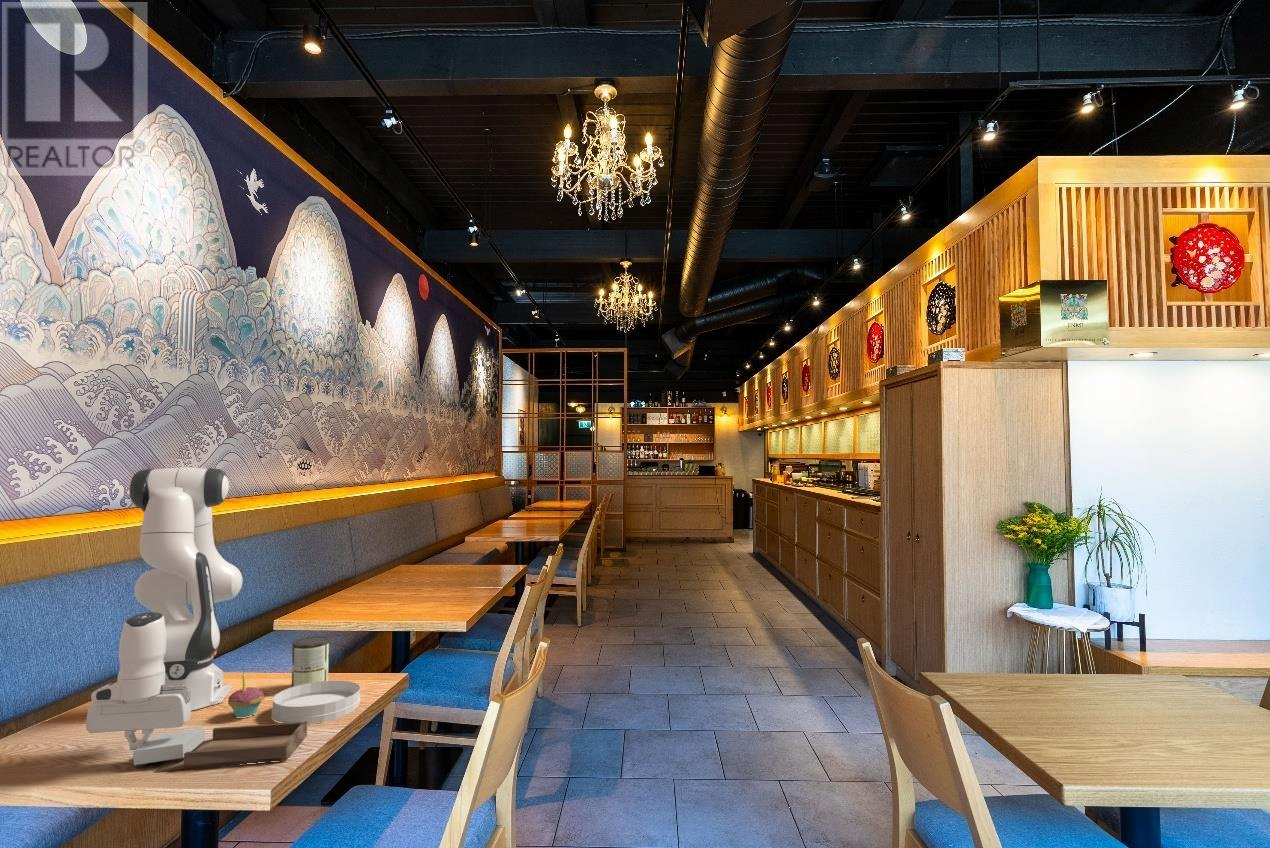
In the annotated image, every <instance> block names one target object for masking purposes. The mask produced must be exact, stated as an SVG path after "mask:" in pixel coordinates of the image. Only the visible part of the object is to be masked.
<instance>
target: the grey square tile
mask: <svg viewBox="0 0 1270 848" xmlns="http://www.w3.org/2000/svg"><path fill="white" fill-rule="evenodd" d="M205 739H206V738H205V727H204V726H203V727H195V728H189V729H183V730H174V731H168V732H162V733H161V732H160V733H157V734H155V735H154V736H153V737H151V738H150V739H148V741H147V742H146V743H144V744H143V745H141V746H140V747H139V748H137V749H136V750H132V751H133V752H132V754H133V766H135V767H136V768H137V769H141V768H143V767H145V766H146V765H147V764H150V763H151V764H152V763H157V762H164V761H165V762H166V761H168V760H171V759H175V760H176V761H177V762H181V761H183V760H184V753H186V752H190V751H195V750H196V749H197V748H198V747H200V746H201V745H202V744H203V742H204V741H206V740H205Z"/></svg>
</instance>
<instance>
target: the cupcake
mask: <svg viewBox="0 0 1270 848" xmlns="http://www.w3.org/2000/svg"><path fill="white" fill-rule="evenodd" d="M241 679H242V681H241V682H242V688H240V689H238V690H235V691H234V692H233V693H231V694H229V696H228V701H227V705H228V706H229V707H231V709H232V711H233V713H234V717H235V718H236V717H246V716H250V715H253V714H255V713H256V714H257V711H258V708H259V706H260V704H261V702H262V701H264V699H265V694H264V692H263V690H261V689H259V688H257V687H247V686H246V674H245V673H244V672H243V671H242V677H241ZM256 714H255V715H256Z"/></svg>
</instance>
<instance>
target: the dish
mask: <svg viewBox="0 0 1270 848" xmlns="http://www.w3.org/2000/svg"><path fill="white" fill-rule="evenodd" d="M360 689H361V688H360V685H359V684H357V683H356V682H353V681H349V680H328V681H320V682H313V683H307V684H302V685H298V686H295V687H292V686H291V687H288V688H286V689H284V690H281V691H279V692H278V693H276V694H275V695H274V696H273V697H272V708H271V719H272V718H273V719H274V720H276V721H279V722H282V723H292V722H306V721H307V724H310V723H318V724H320V723H319V722H324V723H326V722H325V721H328V722H331V721H330V720H332V721H336V720H338V719H337V718H339V717H342V716H344V715H346V714H348V713H350V712H352V711H354V710H355V709H356V708H357V707H358V706H359V704H360V705H361V694H360V692H361V691H360ZM359 707H360V706H359ZM354 712H355V711H354ZM342 718H343V717H342ZM335 719H336V720H335ZM339 719H340V718H339Z"/></svg>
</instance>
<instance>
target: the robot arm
mask: <svg viewBox="0 0 1270 848" xmlns="http://www.w3.org/2000/svg"><path fill="white" fill-rule="evenodd" d="M229 490H230V483H229V479H228V477H227V473H225V472H224V471H223V470H222V469H220V468H219V469H218V468H214V467H209V468H204V467H203V468H202V467H192V466H181V467H165V468H154V467H153V468H144V469H141V470H138V471H137V472H136V473H135V474H133V475H132V477H131V480H130V483H129V487H128V494H129V498H130V502H131V503H132V504H133V505H134V506H135V507H137V508H139V509H141V510H142V512H144V514H143V518H142V523H141V530H140V537H139V553H140V556H141V558H142V559H143V561H144V562H145V563H146V564H147V565H149V566H150V567H152V568H154V569H150V570H147V571H146V570H145V571H144V572H143V573H142V574H141V575H139V577H138V578H137V580H136V583H135V586H134V596H135V598H136V601H137V602H138V603H139V604H140V605H142V606H144V607H145V608H147V609H148V610H150V612H142V613H138V614H135V615H132V616H130V617H128V618H126V619H125V620H124V623H123V625H122V629H121V633H120V639H119V646H118V660H119V664H120V667H119V671H118V674H117V680H116V681H113V682H110V683H108V684H106V685H103V686H102V687H99V688H98V689H96V690H94V691H92V693H91V695H90V697H91V698H90V699H91V701H92V702H91V703H90V704H89V706H88V710H87V713H86V719H85V720H86V721H85V729H86V730H87V732H88V733H89V734H97V733H98V734H99V733H111V732H113V733H114V732H124V733H123V734H124V737H125V739H126V740H127V741H128V743H129V751H134V750H136V749H137V748H139V747H140V746H141V745H143V744H144V743H146V742H147V741H148V740H149V738H150V736H151V735H152V734H153V732H154V730H159V729H171V728H172V729H173V728H181V727H183V726H184V725H186V724H187V723H188V722H189V721H190V720H191V716H192V711H195V710H199V709H203V708H206V707H209V706H215V705H218V703H219V704H222V703H223V702H224V701H225V699H226V698H225V697H228V695H229V693H230V692H231V690H232V689H233V687H232V686H233V685H232V684H227V683H226V684H225V683H224V671H223V670H222V669H221V668H219V667H218V666H217V665H216V664H215V663H214V662H215V661H214V657H215V656H216V655H217V650H218V648H219V647H220V639H221V634H220V633H221V632H220V628H219V623H218V619H217V613H216V607H215V604H217V603H220V602H225V601H228V600H232V599H234V598H235V597H236V596H238V594H239V593H240V591H241V589H242V587H243V580H244V579H243V576H242V575H243V574H242V572H241V571H240V569H239V568H238V567H236V566H235V564H234V565H233V564H232V563H230V562H228V561H227V560H226V559H224V557H223V556H221V554H220V553H219V552H218V550H217V548H216V545H215V541H214V531H213V530H214V529H213V509H212V508H213V507H216V506H219V505H221V504H222V503H224V502H225V500H226V498H227V496H228V494H229ZM189 605H190V606H191V605H192V611H193V613H192V612H190V610H189V608H188V606H189ZM231 688H232V689H231ZM230 689H231V690H230ZM229 691H230V692H229ZM227 694H228V695H227ZM224 698H225V699H224ZM223 700H224V701H223ZM222 701H223V702H222ZM221 702H222V703H221ZM137 731H141V734H142V735H143V736H142V738H140V739H139V738H137V736H136V734H135V733H136V732H137Z"/></svg>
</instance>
